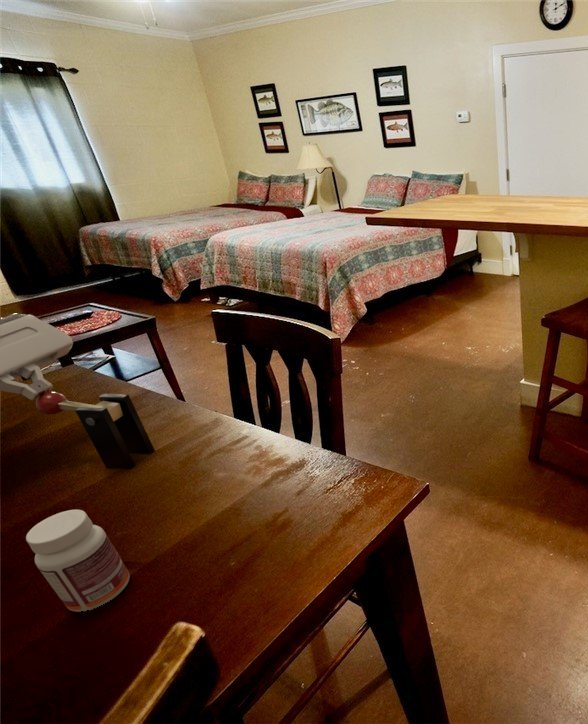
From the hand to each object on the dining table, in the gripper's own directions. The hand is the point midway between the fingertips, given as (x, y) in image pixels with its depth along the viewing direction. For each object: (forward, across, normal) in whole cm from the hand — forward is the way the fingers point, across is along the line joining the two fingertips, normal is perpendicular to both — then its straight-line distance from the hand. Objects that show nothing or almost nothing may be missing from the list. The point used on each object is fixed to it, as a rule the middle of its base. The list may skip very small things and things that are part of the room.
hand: (43, 393), depth 75 cm
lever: (+6, 0, 0) cm, 6 cm away
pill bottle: (+28, +24, +9) cm, 38 cm away
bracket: (+17, 0, -3) cm, 17 cm away
